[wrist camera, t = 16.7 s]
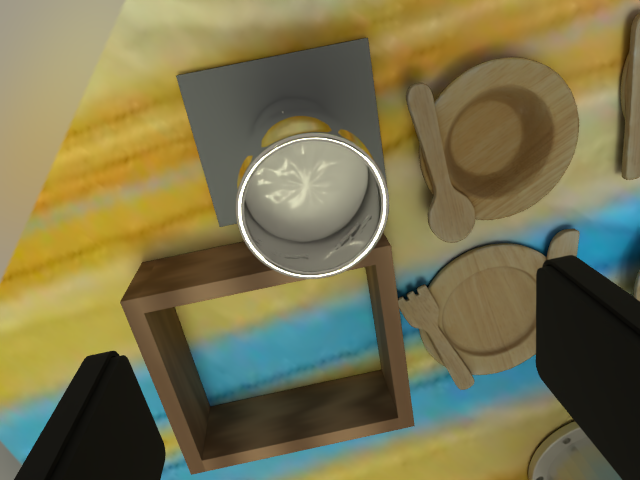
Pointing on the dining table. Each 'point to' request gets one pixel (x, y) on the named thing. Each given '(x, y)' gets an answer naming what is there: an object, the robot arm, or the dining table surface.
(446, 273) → the tableware set
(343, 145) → the beer glass
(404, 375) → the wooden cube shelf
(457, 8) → the dining table surface
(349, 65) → the grey mat
